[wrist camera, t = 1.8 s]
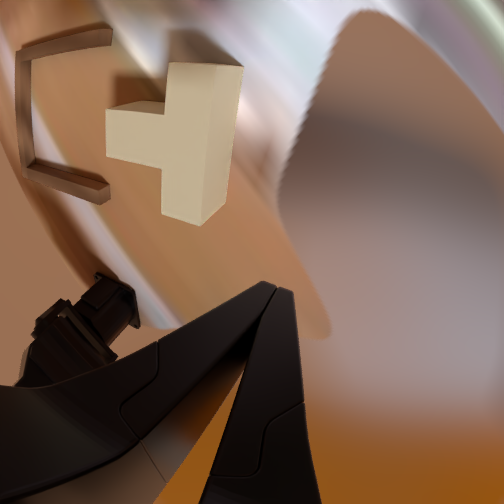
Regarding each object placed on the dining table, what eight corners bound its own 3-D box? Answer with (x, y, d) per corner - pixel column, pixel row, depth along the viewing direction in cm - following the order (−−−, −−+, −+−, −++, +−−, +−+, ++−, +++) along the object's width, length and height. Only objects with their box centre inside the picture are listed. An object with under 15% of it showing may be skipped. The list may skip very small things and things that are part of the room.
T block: (225, 202, 23) (200, 226, 19) (140, 178, 24) (108, 197, 21) (244, 66, 17) (216, 65, 14) (145, 60, 18) (107, 63, 15)
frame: (110, 199, 27) (99, 205, 26) (31, 172, 30) (22, 177, 29) (112, 28, 17) (99, 28, 16) (26, 49, 21) (15, 51, 20)
